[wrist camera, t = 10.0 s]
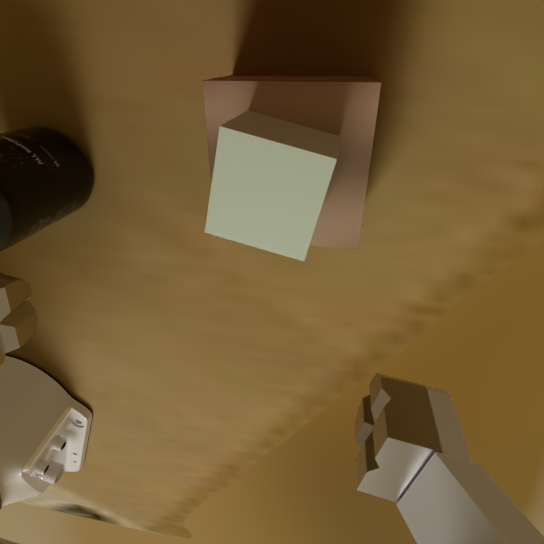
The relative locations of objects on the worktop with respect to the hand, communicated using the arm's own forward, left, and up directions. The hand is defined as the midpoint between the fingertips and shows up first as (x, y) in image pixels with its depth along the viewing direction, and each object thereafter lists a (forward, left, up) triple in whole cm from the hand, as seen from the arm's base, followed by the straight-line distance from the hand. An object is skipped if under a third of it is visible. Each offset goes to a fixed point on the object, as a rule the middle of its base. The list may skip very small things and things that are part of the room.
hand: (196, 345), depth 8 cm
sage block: (0, 0, -14) cm, 14 cm away
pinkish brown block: (0, 0, -20) cm, 20 cm away
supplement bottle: (-6, +19, -20) cm, 28 cm away
